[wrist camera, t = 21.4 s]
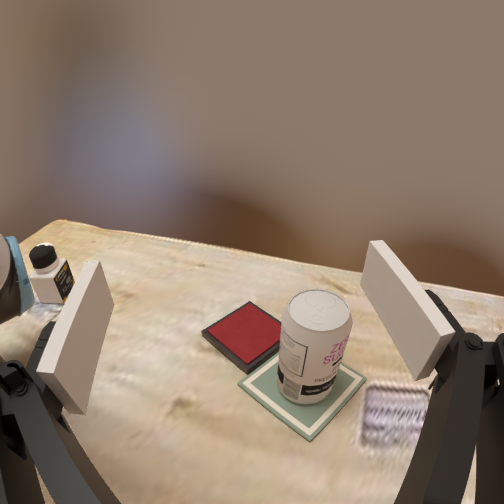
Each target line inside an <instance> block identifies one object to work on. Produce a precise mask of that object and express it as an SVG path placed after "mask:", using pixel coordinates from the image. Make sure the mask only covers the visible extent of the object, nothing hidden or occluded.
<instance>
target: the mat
mask: <svg viewBox="0 0 504 504" xmlns="http://www.w3.org/2000/svg"><path fill="white" fill-rule="evenodd" d="M278 360H279V352H277V353H276V354H275V355H274V356H272V357H271V358H270V359H269V360H267V361H266V362H265V363H263V364H262V365H261V366H260V367H258V368H257V369H256V370H254V371H253V372H252V373H250V374H249V375H248V376H246V377H245V378H244V379H242V380H241V381H240V382H238V386H240V387H241V388H242V389H243V390H244V391H245V392H247V393H248V394H249V395H250V396H251V397H252V398H254V399H255V400H256V401H257V402H258V403H260V404H261V405H262V406H263V407H265V408H266V409H267V410H268V411H269V412H271V413H272V414H273V415H274V416H276V417H277V418H278V419H280V420H281V421H282V422H283V423H285V424H286V425H287V426H289V427H290V428H291V429H292V430H294V431H295V432H296V433H298V434H299V435H300V436H302V437H303V438H304V439H306V440H307V441H308V442H310V441H311V440H312V439H313V438H314V437H315V436H316V435H317V434H318V433H319V432H320V431H321V430H322V429H323V428H324V427H325V426H326V425H327V424H328V423H329V422H330V421H331V419H332V418H333V417H334V416H335V415H336V414H337V413H338V412H339V411H340V410H341V408H342V407H343V406H344V405H345V404H346V403H347V402H348V401H349V399H350V398H351V397H352V396H353V395H354V394H355V392H356V391H357V390H358V389H359V388H360V386H361V385H362V384H363V383H364V382H365V380H366V377H364V376H363V375H361V374H359V373H358V372H356V371H355V370H353V369H351V368H350V367H348V366H346V365H345V364H343V363H342V362H341V364H340V367H339V370H338V373H337V376H336V379H335V381H334V384H333V387H332V390H331V392H330V394H329V395H328V396H327V397H326V398H325V399H323V400H321V401H319V402H317V403H313V404H299V403H294V402H292V401H291V400H289V399H287V398H285V397H284V396H283V394H282V393H281V392H280V391H279V389H278V386H277V383H276V382H277V371H278Z"/></svg>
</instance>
